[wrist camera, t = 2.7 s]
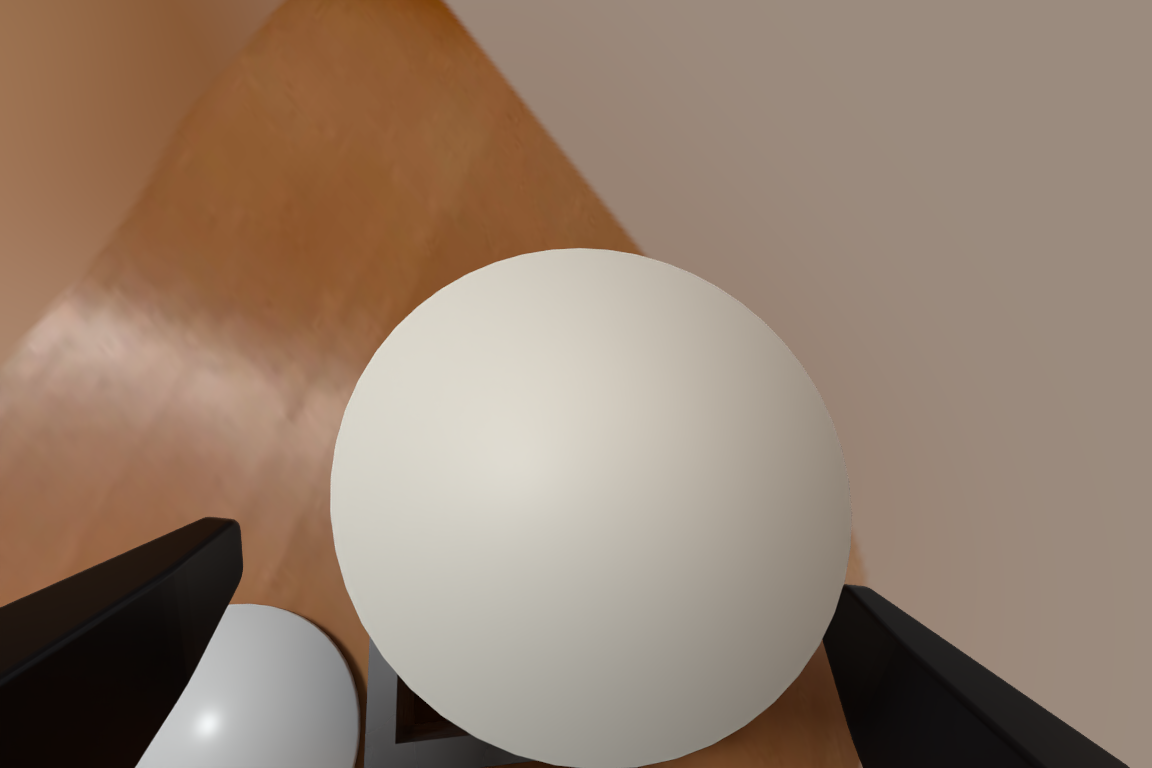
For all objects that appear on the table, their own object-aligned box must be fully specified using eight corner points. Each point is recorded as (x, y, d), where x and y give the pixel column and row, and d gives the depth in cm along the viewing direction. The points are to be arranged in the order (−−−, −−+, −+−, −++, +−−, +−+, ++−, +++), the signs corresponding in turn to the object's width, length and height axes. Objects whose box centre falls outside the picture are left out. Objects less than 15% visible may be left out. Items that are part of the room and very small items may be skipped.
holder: (669, 720, 15) (706, 738, 13) (388, 754, 14) (363, 782, 12) (635, 458, 18) (659, 426, 16) (397, 470, 17) (379, 439, 14)
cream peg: (603, 660, 16) (918, 729, 4) (454, 676, 15) (304, 810, 3) (589, 512, 17) (786, 248, 6) (453, 522, 17) (348, 246, 5)
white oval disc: (352, 891, 13) (348, 898, 13) (36, 940, 12) (22, 949, 12) (367, 594, 16) (364, 593, 15) (105, 616, 15) (95, 615, 14)
